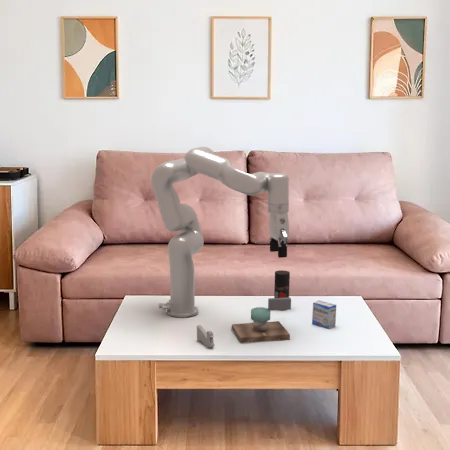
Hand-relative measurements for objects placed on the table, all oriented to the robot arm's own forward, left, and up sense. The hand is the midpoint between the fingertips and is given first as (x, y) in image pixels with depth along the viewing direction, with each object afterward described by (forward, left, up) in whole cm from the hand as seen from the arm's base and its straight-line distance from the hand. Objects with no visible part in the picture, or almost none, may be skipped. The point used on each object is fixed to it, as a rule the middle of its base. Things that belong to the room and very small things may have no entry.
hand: (278, 254), depth 251 cm
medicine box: (+18, -1, -28) cm, 34 cm away
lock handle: (-4, -6, -22) cm, 23 cm away
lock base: (-8, -6, -28) cm, 30 cm away
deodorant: (+8, +21, -28) cm, 36 cm away
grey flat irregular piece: (-29, -12, -28) cm, 42 cm away
